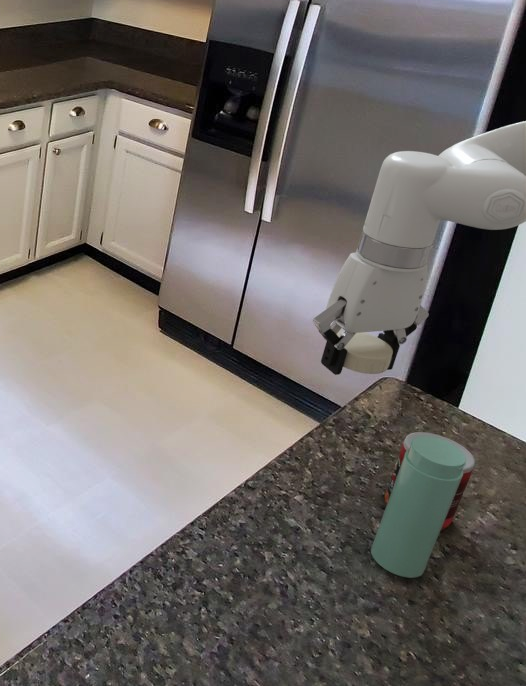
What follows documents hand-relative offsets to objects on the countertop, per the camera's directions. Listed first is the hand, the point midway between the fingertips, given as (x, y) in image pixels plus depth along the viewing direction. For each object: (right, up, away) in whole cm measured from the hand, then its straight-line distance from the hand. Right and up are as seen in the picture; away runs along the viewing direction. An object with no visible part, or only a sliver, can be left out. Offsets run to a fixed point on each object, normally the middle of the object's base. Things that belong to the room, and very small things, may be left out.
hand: (355, 365), depth 108 cm
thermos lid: (0, +3, -1) cm, 3 cm away
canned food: (+10, -21, +3) cm, 24 cm away
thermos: (+3, -25, -4) cm, 25 cm away
